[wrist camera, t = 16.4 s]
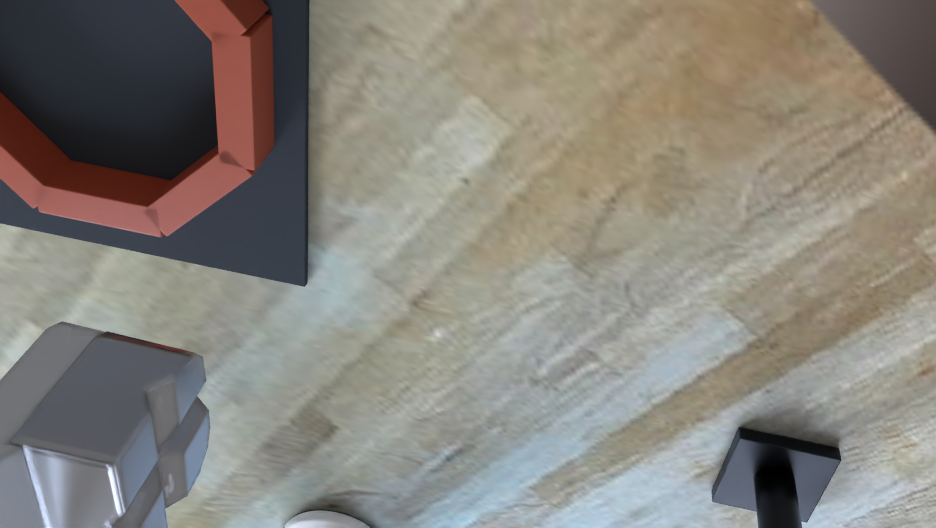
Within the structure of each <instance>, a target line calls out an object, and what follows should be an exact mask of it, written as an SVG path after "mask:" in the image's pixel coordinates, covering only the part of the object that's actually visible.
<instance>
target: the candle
mask: <svg viewBox="0 0 936 528" xmlns="http://www.w3.org/2000/svg"><path fill="white" fill-rule="evenodd" d="M284 528H370V527H369V526H368V525H366V524H365V523H363V522H361V521H359V520H357V519H355V518H353V517H350V516H348V515H345V514H341V513H337V512H332V511H320V510H319V511H308V512H304V513H301V514H298V515H296V516H295V517H293V518H292V519H290V520H289V521H288V522H287V524H286V525H285V527H284Z"/></svg>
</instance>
